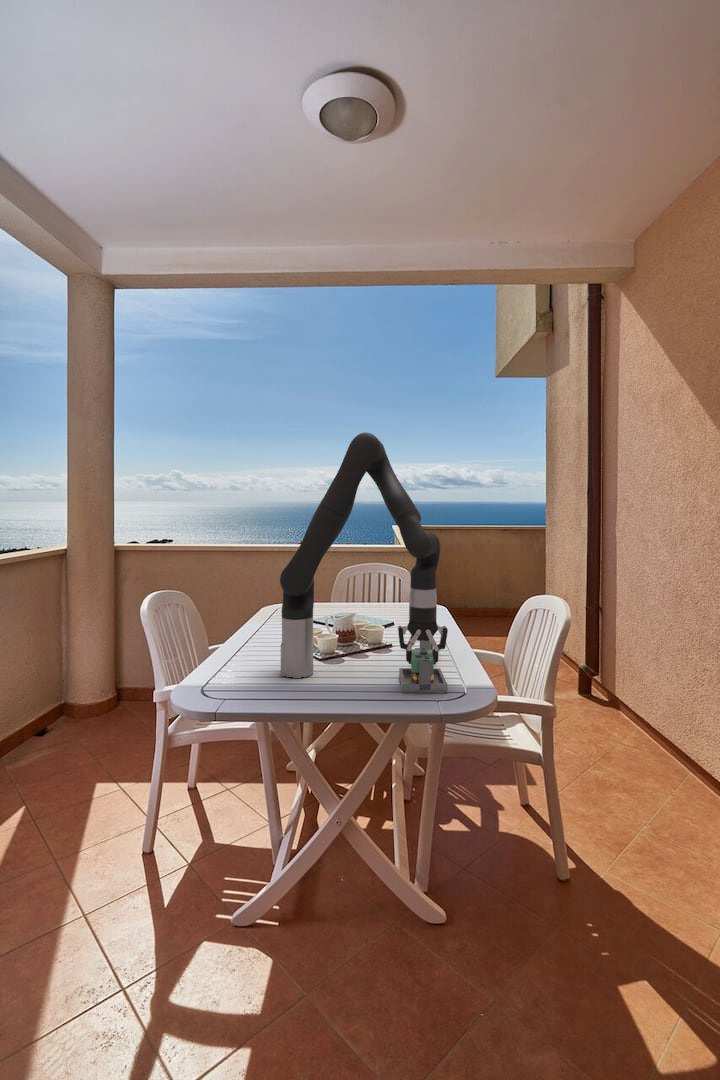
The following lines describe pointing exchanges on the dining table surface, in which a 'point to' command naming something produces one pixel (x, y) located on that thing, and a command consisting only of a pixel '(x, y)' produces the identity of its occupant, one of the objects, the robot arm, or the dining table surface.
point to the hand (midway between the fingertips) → (422, 663)
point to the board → (421, 659)
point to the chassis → (423, 679)
